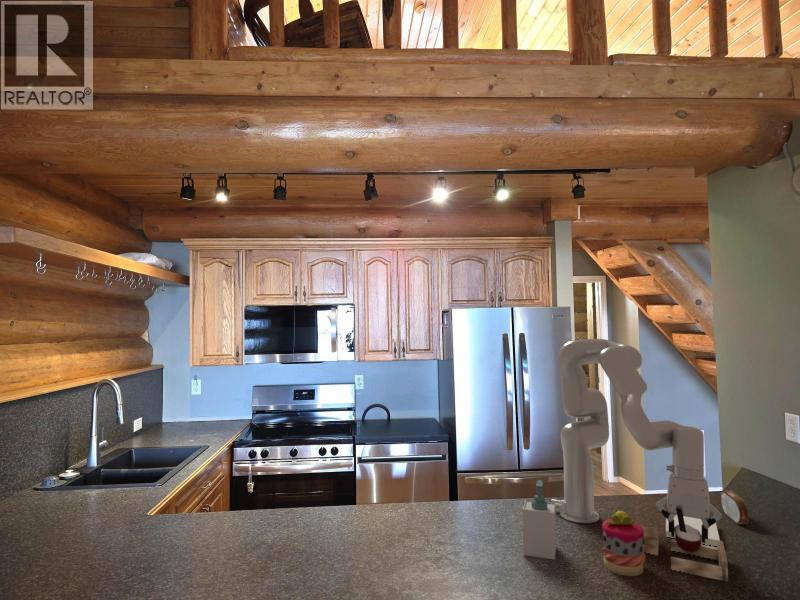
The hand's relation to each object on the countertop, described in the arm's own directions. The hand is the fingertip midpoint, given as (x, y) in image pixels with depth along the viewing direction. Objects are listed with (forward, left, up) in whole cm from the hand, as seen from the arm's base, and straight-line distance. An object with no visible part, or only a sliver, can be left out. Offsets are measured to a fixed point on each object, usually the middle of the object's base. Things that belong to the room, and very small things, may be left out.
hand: (687, 537), depth 139 cm
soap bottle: (-38, -12, -7) cm, 40 cm away
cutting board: (+1, +23, -7) cm, 24 cm away
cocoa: (0, 0, -3) cm, 4 cm away
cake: (-16, -11, -7) cm, 20 cm away
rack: (+2, 0, -7) cm, 7 cm away
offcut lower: (-10, +5, -7) cm, 13 cm away
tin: (+14, +42, -7) cm, 45 cm away
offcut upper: (-10, +5, -5) cm, 12 cm away
